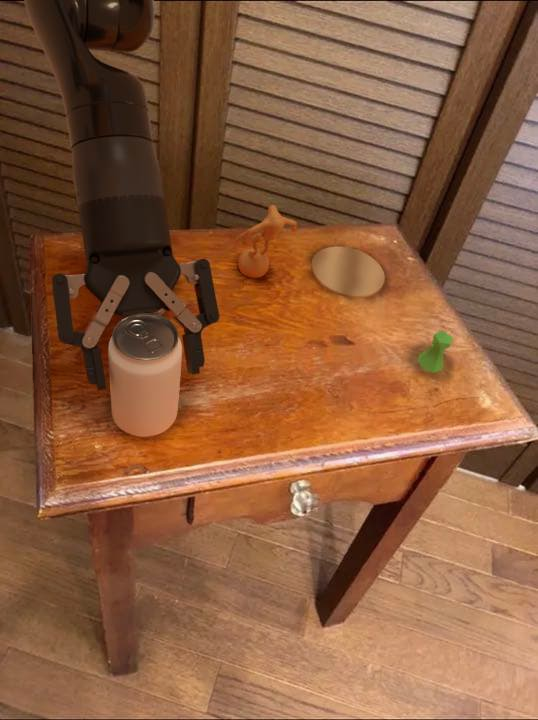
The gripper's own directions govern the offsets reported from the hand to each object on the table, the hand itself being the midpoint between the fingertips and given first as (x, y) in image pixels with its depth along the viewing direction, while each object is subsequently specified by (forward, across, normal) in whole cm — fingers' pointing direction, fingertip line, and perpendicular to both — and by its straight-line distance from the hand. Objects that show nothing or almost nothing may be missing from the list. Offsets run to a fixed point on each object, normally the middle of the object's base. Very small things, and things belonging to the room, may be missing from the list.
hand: (149, 381), depth 54 cm
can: (+4, 0, +6) cm, 7 cm away
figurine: (-8, +18, +19) cm, 27 cm away
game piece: (+5, +34, +6) cm, 35 cm away
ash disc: (-7, +31, +17) cm, 36 cm away
